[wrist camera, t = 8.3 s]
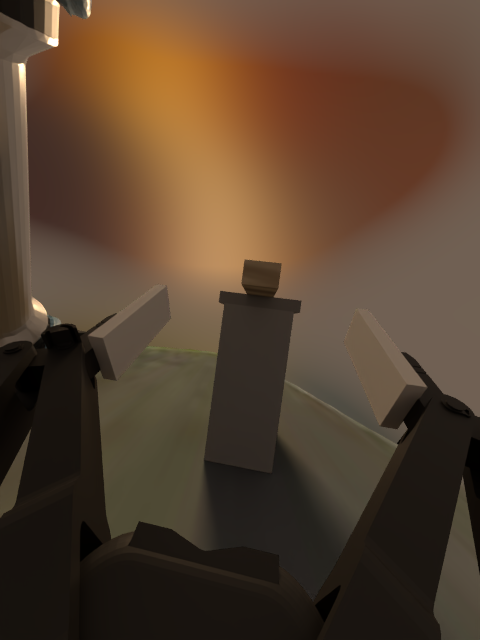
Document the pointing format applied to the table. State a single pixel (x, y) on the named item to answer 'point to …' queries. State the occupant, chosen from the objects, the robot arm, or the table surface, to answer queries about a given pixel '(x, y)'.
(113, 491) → the table surface
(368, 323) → the robot arm
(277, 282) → the birch strip
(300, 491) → the table surface
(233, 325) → the grey stand
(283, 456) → the table surface
